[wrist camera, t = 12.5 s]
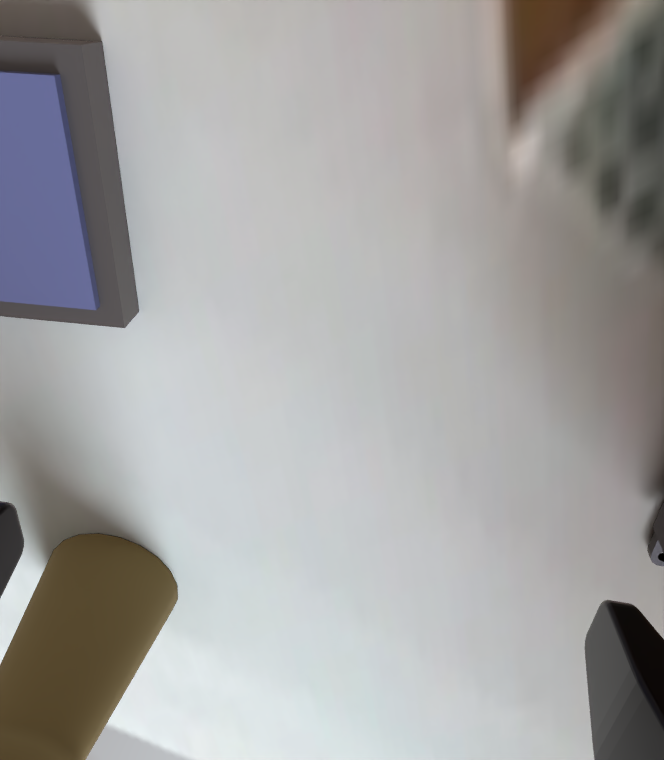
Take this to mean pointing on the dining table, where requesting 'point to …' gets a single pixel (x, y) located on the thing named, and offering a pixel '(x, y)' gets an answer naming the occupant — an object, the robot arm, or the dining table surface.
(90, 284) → the ink pad
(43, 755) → the cork
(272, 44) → the dining table surface
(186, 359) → the dining table surface
